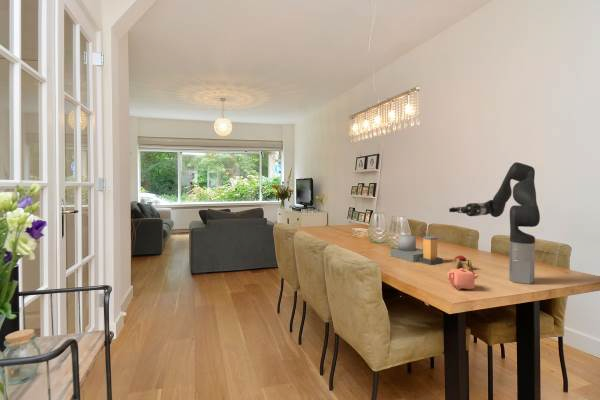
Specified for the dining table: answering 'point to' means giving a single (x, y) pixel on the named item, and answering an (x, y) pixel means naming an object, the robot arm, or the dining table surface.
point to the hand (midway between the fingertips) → (456, 210)
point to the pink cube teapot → (462, 278)
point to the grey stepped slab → (411, 251)
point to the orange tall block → (430, 247)
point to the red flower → (463, 263)
